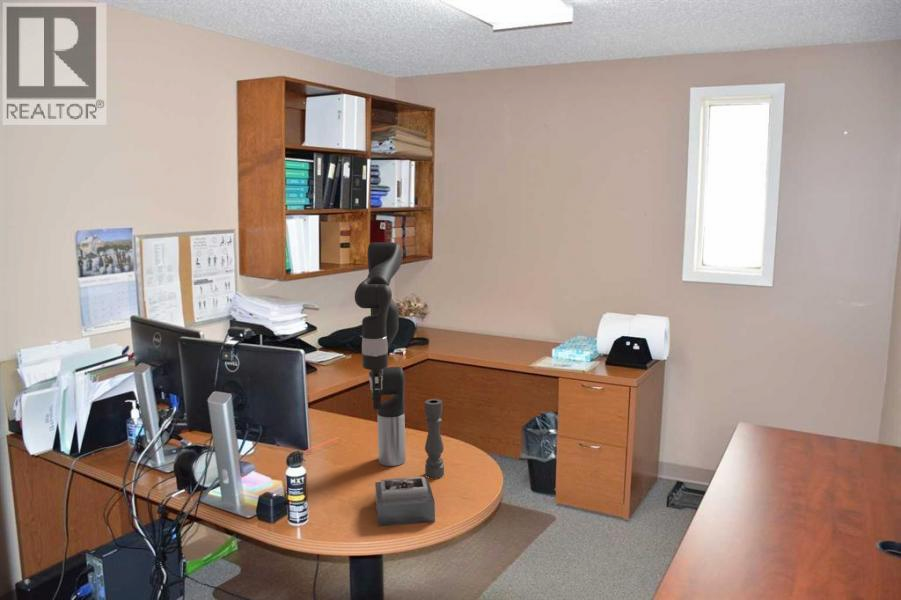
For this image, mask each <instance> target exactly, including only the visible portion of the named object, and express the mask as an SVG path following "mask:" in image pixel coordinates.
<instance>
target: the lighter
mask: <svg viewBox="0 0 901 600" xmlns="http://www.w3.org/2000/svg"><path fill="white" fill-rule="evenodd" d="M392 485H394V487H391V488H390V489H400V488H413V481H407V480H406V479H404V480H403V481H400V480H393V481H392Z"/></svg>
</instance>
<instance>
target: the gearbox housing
mask: <svg viewBox="0 0 901 600" xmlns="http://www.w3.org/2000/svg"><path fill="white" fill-rule="evenodd" d="M404 479H406V480H407V481H413V488H400V489H390V488H391V487H394V485H392V481H393V480H400V481H403V480H404ZM374 487H375V489H374V490H375V492H374V493H375V507H376V508H375V509H376V518H377V527H386V526H387V527H389V526H399V525H400V526H401V525H410V524H426V523H434V522H436V507H435V506H436V503H435V502H436V501H435V499H434V495H433V491H432V488H431V485H430V481H429V478H426V476H416V477H415V476H414V477H413V476H412V477H400V478H399V477H398V478H385V479H384V478H383V479H380V481H377V482H375V484H374Z"/></svg>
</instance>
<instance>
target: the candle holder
mask: <svg viewBox="0 0 901 600" xmlns="http://www.w3.org/2000/svg"><path fill="white" fill-rule="evenodd" d="M424 412H425V415H426V417H427V418H426V419H425V423H426V424H427V435H426V436H427V437H426V441H425V444H424V445H425V446H424V451H425V453H426V455H427V459H426V460H425V464H424V465H425V467H424V471H425V472H424V473H425V475H426V476H427V477H429V478H428V479H430V478H438V479H441V478H440V477H442V476H443V475H444V476H445V464H444V459H442V454H443V452H444V448H445V447H444V443H443V440H442V436H441V423H442V422H443V420H442V418H441V415H442V412H443V400H441V399H438V398H430V399H426V400H424ZM425 475H424V476H425ZM426 476H425V477H426ZM444 476H443V477H444ZM427 477H426V478H427ZM443 477H442V478H443Z"/></svg>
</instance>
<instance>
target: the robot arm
mask: <svg viewBox="0 0 901 600" xmlns="http://www.w3.org/2000/svg"><path fill="white" fill-rule="evenodd" d="M402 261H403V255H402V248H401V245H400V244H399V243H397V242H394V241H393V242H392V241H391V242H387V241H385V242H370V243H369V245H368V247H367V269H368V275H367V277H366V278H365V279H364V280H363V281H362V282H360V283H359V284H358V285H357V287H356V289H355V291H354V301H355V304H356V306H358V307H359V308H361V309H370V315H368V316H364V317H363V318H362V320H361V332H362V333H361V334H362V340H361V341H362V342H361V357H362V359H361V361H362V363H361V364H362V367H363V368H364V369H365V370H369V371H370V372H369V371H368V380H369V385H370V391H371V400H372V405H373V406H372V407H373V410H376V411H377V412H376V413H377V414H376V415H377V437H378V438H377V445H378V447H377V448H378V449H377V450H378V463H379V464H380V465H382V466H387V467H395V466H400V465H403V464H404V463H405V462H406V427H405V425H406V423H405V422H406V420H405V419H406V418H405V384H406V381H405V380H406V378H405V372H404V370H403V369H404V368H402V367H401V366H389V353H388V352H389V351H388V349H389V347H390V346H391V344H392V342H393V341H394V339H395V337H396V336H397V334H398V331H399V326H400V325H399V324H400V323H399V309H398V305H397V304H396V303H395V301H394V299H393V298H392V296H393V292H392V289H391V288H390V284H391V280H392V279H393V277H394V276H395V275H396V274H397V272H398V271H399V270H400V268H401V266H402ZM387 395H388V396H389V395H392V396H391V397H389V398H388V399H387V400H385V401H382V396H387Z"/></svg>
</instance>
